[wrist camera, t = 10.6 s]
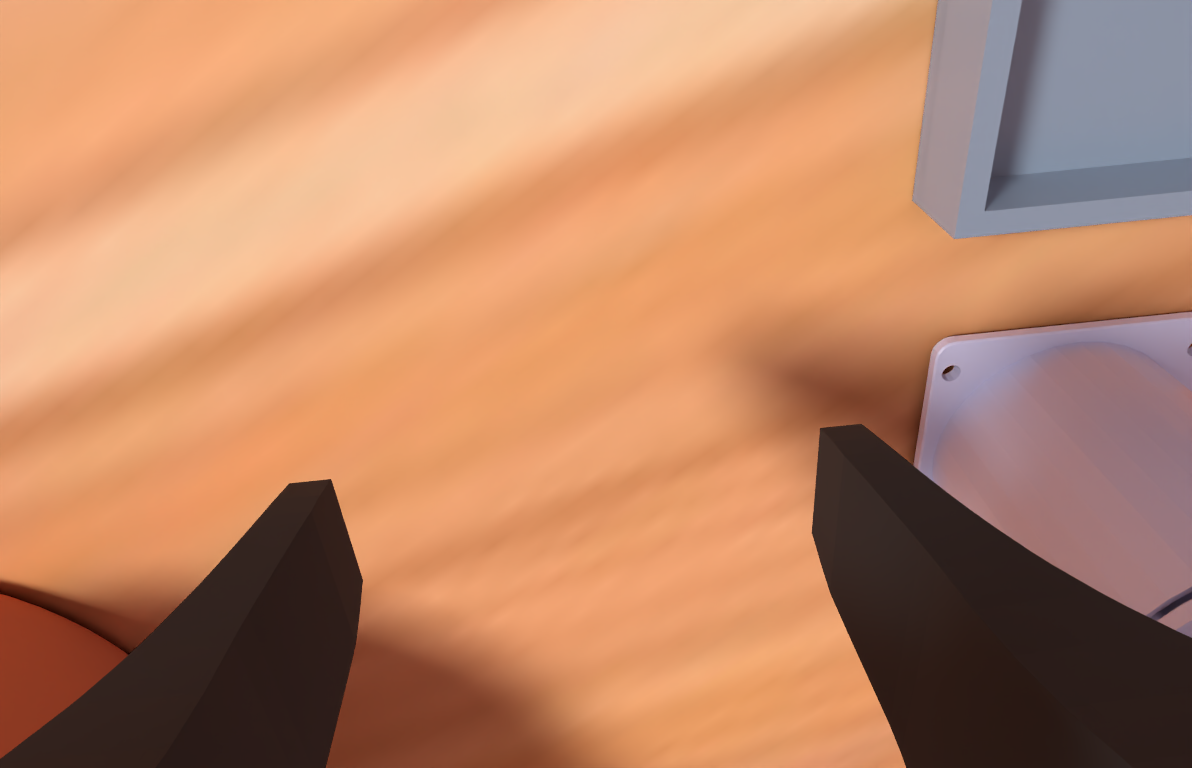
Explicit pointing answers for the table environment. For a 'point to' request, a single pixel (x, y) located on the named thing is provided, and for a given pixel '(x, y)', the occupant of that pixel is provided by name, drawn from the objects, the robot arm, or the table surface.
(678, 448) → the table surface
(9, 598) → the potted cactus
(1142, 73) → the tray
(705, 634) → the table surface
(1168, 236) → the table surface
